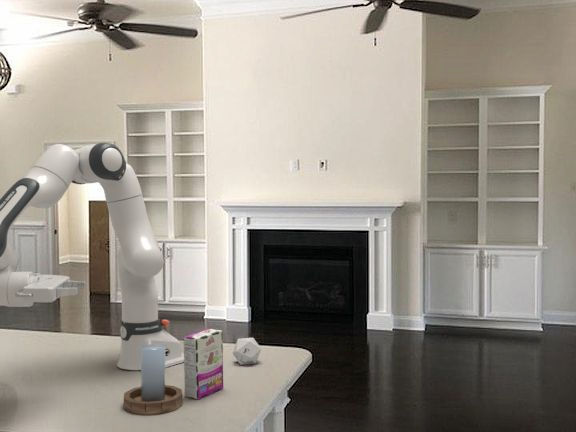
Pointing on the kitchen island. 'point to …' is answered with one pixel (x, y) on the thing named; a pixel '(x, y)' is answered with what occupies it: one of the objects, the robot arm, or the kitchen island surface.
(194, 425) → the kitchen island surface
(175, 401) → the tray
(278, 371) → the kitchen island surface
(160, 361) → the pale blue cylinder
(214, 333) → the candy bar box
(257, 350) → the die
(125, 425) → the kitchen island surface
